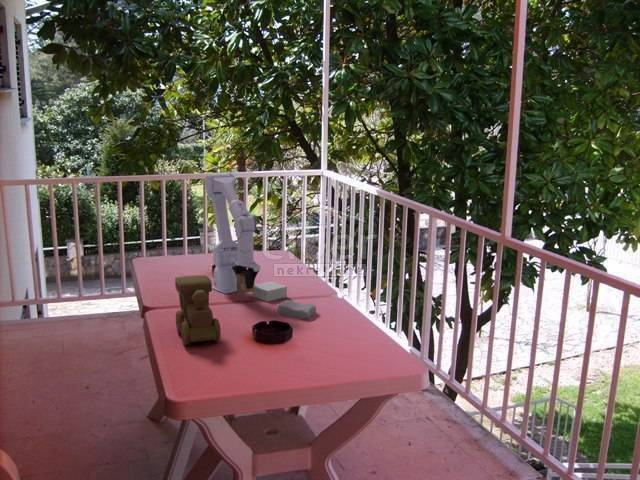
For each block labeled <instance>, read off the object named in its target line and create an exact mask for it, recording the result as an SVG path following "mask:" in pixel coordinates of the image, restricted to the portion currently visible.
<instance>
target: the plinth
mask: <svg viewBox="0 0 640 480" xmlns="http://www.w3.org/2000/svg"><path fill="white" fill-rule="evenodd" d="M251 296H252V297H254V298H257V299H260V300H262V301H263V302H266V303H267V302H268V303H269V302H272V301H276V300H279V299H285V298H288V286H287V285H284V284H282V283H281V284H280V283H278V282H275V281H271V280H270V281H266V282H262V283H257V284H254V291H252V292H251Z"/></svg>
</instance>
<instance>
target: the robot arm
mask: <svg viewBox="0 0 640 480" xmlns="http://www.w3.org/2000/svg"><path fill="white" fill-rule="evenodd" d="M235 185H236V178H235V175H234V174H233V173H232V172H226V173H224V172H222V173H207V174H206V176H205V182H204V186H205V190H206V192H205V193H206V196H207V198H209V199H211V203H212V209H213V214H214V219H215V220H214V221H215V226H216V231H217V232H216V233H217V237H218V238H217V239H218V243H217V244H216V245H215V246H214V247H213V249H212V252H213V263H214V265H215V268H214V270H213V286H212V290H216V291H217V292H220V293H222V294H225V295H226V294H232V293H236V292H238V291H237V274H240V273H244V274H245V278H246V287H247V289H251V288H253V284H254V285H255V280H256V278H257V275H258V273H259V272H260V271H261V265H260V264H258V263H256V262H255V260H254V251H255V250H254V245H255V244H254V239H255V237H254V236H255V235H254V232H255V231H256V230H257V227H258V226H257V225H258V223H257V219H256V217H255V215H253V214H252V213H250V212H249V211H248V209H247V206H246V205H245V203H244V201H243V200H240V199H239V196H238V194H237V192H236V189H235V188H236V187H235ZM226 202H228V204H229V205H228V209H227V203H226ZM228 210H229V212H230V215H231V216H232V219H233V221H234V223H233V224H234V225H233V226H234V229H235V230H234V231H235V237H236V241H237V242H236V241H235V240H233V237H232V232H231V230H232V229H231V224H230V221H229V214H228Z"/></svg>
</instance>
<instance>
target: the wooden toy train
mask: <svg viewBox="0 0 640 480" xmlns="http://www.w3.org/2000/svg"><path fill="white" fill-rule="evenodd" d="M174 283H175V290H176V292H177V293H178V299H179V307H180V310H177V311H176V312H175V325H176V331H177V332H178V333H179V334H181V341H182V344H183V345H184V346H188V345H190V343H195V342H204V341H214V342H215V343H217V342H219V341H220V340H221V326H220V321H219V320H218V319H217V318H214V315H213V311H212V309H211V308H210V306H209V304H210V293H212V291H213V289H212V287H213V286H212V285H213V283H212V280H211V279H210V277H209V276H207V275H204V274H203V275H202V274H201V275H199V274H198V275H197V274H196V275H185V276H178V277H175V279H174Z"/></svg>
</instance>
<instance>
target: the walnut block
mask: <svg viewBox="0 0 640 480" xmlns="http://www.w3.org/2000/svg"><path fill="white" fill-rule="evenodd" d="M254 285H255V283H254V284H253V288H251V289H247V287H246V278H245V274H244V273H240V274H237V291H236V292H238V293H239V292H240V293H242V294H246V293H252V291H254Z"/></svg>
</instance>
